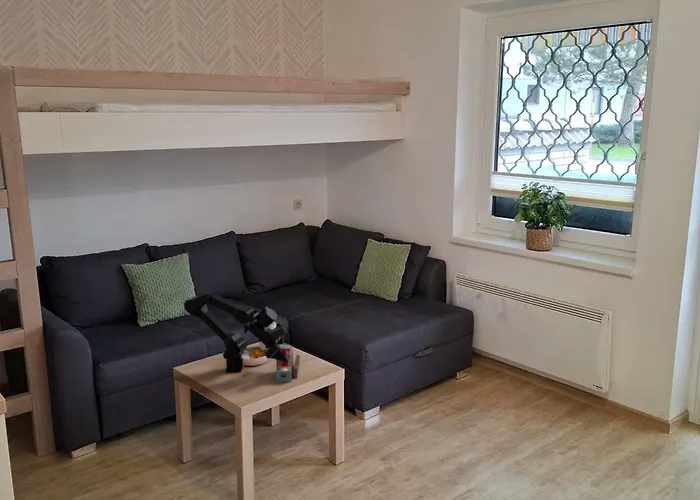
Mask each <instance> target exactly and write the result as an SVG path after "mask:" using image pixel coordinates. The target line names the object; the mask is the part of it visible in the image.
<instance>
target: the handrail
mask: <svg viewBox="0 0 700 500" xmlns="http://www.w3.org/2000/svg"><path fill="white" fill-rule="evenodd" d="M300 359H301V355H300V354H296V355H295V360H294V363H293V372H294V375H293V376H294V379H298V377H299V370H300Z"/></svg>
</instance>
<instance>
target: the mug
mask: <svg viewBox="0 0 700 500" xmlns="http://www.w3.org/2000/svg"><path fill="white" fill-rule="evenodd" d="M276 324H277V322H276V321H274V322H273V323H272V324H271V325H269V326H268V327H266V328H267V329H268V328H270V329H274V328H276ZM259 347H260V348H265V345H264V344H263V343H262V342H261V341H260V342H258V348H259ZM260 348H259V349H260ZM265 349H266V348H265Z"/></svg>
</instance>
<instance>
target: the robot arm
mask: <svg viewBox="0 0 700 500" xmlns="http://www.w3.org/2000/svg"><path fill="white" fill-rule="evenodd" d="M207 304H208V305H210V306H213V307H215V308H216V309H219V310H221V311H223V312H225V313H227V314H229V315H231V316H232V317H233V319H234V320H236V322H238V323H239V324H243V325H244V326H243V333H244V334H246V333H248V331H249V332H250V333H251V334H252V335H253V336H254V337H255V338H256V339H257V342H258V343H259V342H260V341H261V342H262V343H263V344H264V345H265V348H266V351H264V356H265V358H266V359H271V360H272V359H273V360H279V361H282V362H286V363H287V362H288V359H287V358H286V357H285V356H284V354H283V353H282V352H281V346H279V345H280V344H285V342H284V336H285V335H286V334H287V332H288V330H287V329H286V325H285V324H283V323H281V322H280V321H279V322H276V320H277V319H278V314H277V313H276V311H275V310H274V309H272V308H269V307H268V306H267V305H266V306H265V307H263V308H262V309H261V311H260V310H256V309H254V308H253V307H252V306H249V305H244V304H237V303H234V302H232V301H231V300H228V299H227V298H225V297H222V296H219V295H217V294H215V292H213V291H209V292H206V293H204V294H203V295H200V296H199V295H195V296H193V297H191V298H189V299H187V300H185V301H184V303H183V309H184V311H186V313H188V314H189V315H191V316H192V317H195V318H198V319H200V320H201V321H202V322H203V323H204V324H205V325H206V326H207V327H208V328H209V329H210V330H211V331H212V332H213V333H214V334H215V335H216V336H217V337H218V338H219V339H220V340H222V342H223V344H224V348H225V349H226V350H225V351H224V352H223V353H222V356H223V359H224V360H225V363H226V364H225V367H226V369H225V373H241V372H242V371H243V369H244V358H243V355H242V354H244V352H245V351H246V350H247V348H248V342H247V340H246V337H244V336H242V334H241V333H240V332H236V333H233V332H232V331H231V330H229V329H228V328H227V327H226V326H225V325H224V324H223V323H222V322H221V321H220V320H219V319H218V318H217V317H216V316H215V315H214V314H213V313H212V312H211V311H209V309H208V306H207ZM273 322H276V328H274V329H270V328H268V329H267V328H266V327H268V326H269V325H271V324H272V323H273Z"/></svg>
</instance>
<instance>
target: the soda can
mask: <svg viewBox="0 0 700 500" xmlns="http://www.w3.org/2000/svg"><path fill="white" fill-rule="evenodd" d="M279 346H281V352H282V353H283V354H284V356H285V357H286V358H287V359H288V362H287V363H286V362H282V361H279V360H276V359H275V360H276V362H275V363H276V364H275V365H276V367H275V368H276V369H277V368H278V367H291V368H292V373H293V372H294V349H293V348H292V344H290V343H284V344H280V345H279Z"/></svg>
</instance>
